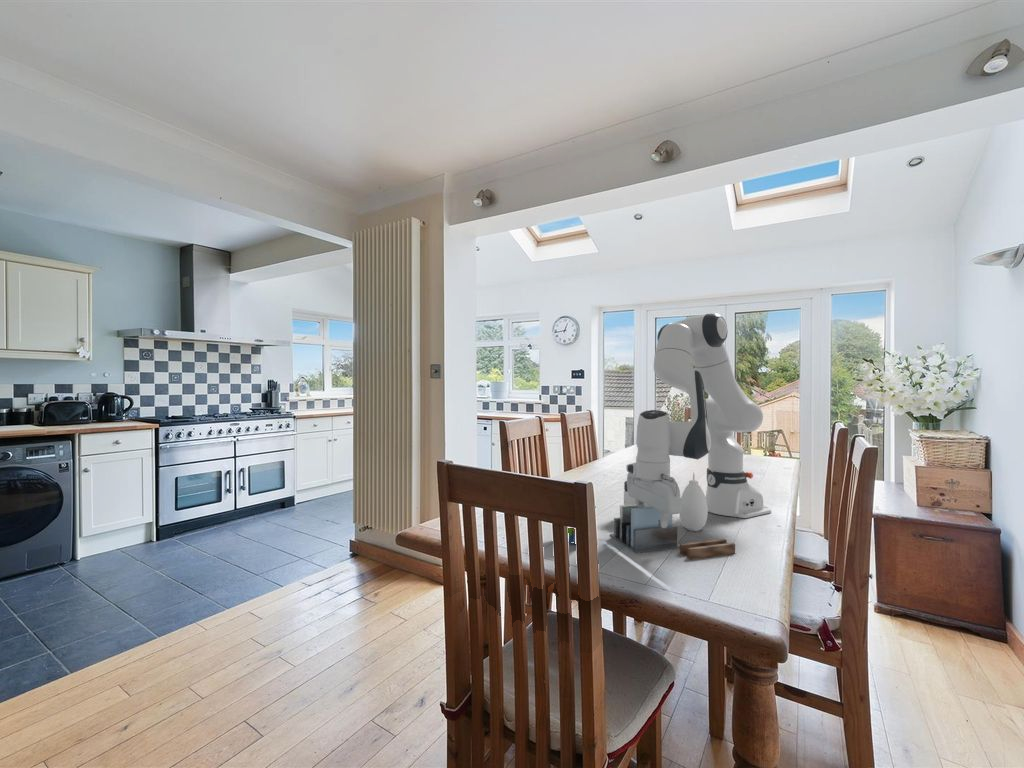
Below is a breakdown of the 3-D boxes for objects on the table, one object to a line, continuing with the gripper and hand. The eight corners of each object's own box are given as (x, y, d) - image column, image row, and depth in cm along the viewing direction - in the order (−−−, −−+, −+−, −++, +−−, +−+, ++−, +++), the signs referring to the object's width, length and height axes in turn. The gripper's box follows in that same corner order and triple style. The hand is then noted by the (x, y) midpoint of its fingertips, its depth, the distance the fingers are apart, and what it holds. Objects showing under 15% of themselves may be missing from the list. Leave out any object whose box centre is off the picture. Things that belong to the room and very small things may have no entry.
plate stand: (722, 549, 125) (722, 538, 125) (736, 556, 120) (736, 544, 120) (678, 555, 121) (678, 543, 121) (691, 562, 116) (691, 550, 116)
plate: (668, 541, 128) (669, 505, 128) (672, 542, 127) (672, 506, 127) (630, 545, 125) (631, 508, 124) (633, 547, 123) (633, 510, 123)
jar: (655, 520, 150) (656, 483, 150) (640, 525, 145) (641, 487, 145) (632, 513, 157) (633, 478, 157) (617, 518, 152) (618, 482, 152)
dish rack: (651, 533, 138) (652, 499, 138) (682, 550, 124) (682, 513, 124) (609, 538, 134) (610, 503, 133) (636, 556, 120) (636, 517, 120)
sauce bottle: (712, 533, 138) (713, 473, 138) (695, 537, 134) (696, 476, 134) (690, 525, 145) (691, 468, 145) (673, 529, 141) (674, 471, 141)
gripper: (687, 478, 116) (687, 532, 117) (642, 463, 136) (641, 509, 136) (666, 480, 114) (665, 535, 115) (623, 464, 134) (622, 511, 134)
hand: (652, 521), depth 126 cm, fingers open, 8 cm apart
